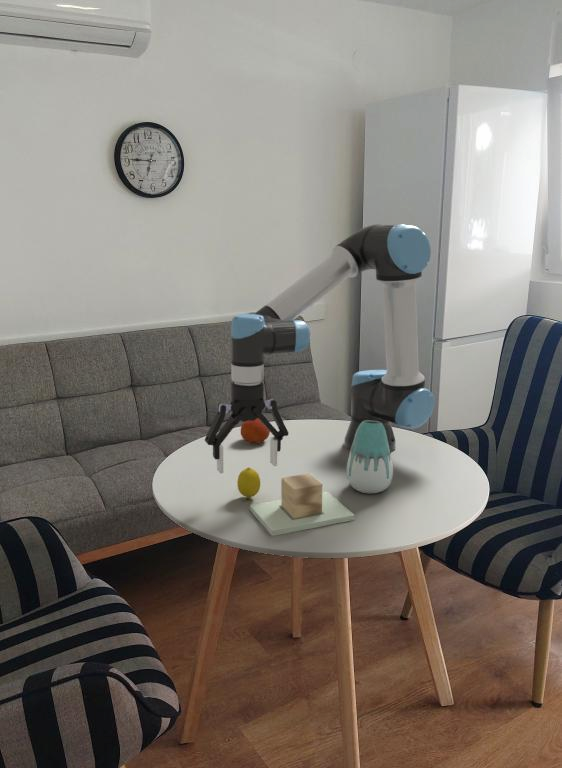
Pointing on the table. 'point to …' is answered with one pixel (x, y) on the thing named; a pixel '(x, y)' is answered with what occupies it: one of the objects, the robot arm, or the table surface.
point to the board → (283, 522)
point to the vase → (370, 459)
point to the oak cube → (301, 495)
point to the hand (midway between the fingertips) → (247, 467)
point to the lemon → (248, 483)
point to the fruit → (254, 431)
